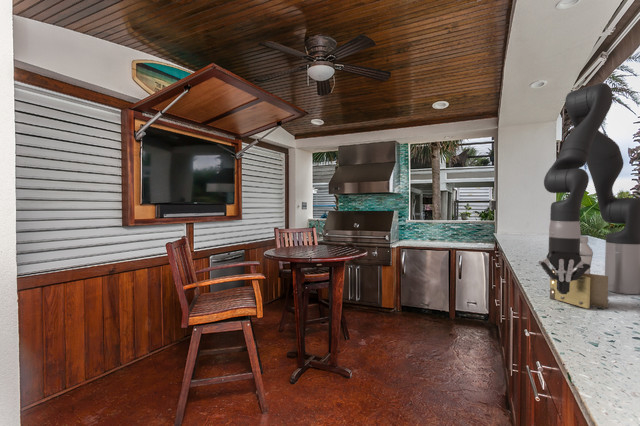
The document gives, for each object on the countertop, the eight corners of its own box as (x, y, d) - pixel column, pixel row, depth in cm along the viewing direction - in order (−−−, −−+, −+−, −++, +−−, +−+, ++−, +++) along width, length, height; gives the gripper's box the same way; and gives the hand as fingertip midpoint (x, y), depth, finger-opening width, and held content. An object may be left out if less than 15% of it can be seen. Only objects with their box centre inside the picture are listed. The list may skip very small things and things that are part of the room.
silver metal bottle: (586, 293, 113) (588, 235, 113) (595, 298, 107) (597, 237, 106) (564, 291, 115) (565, 235, 115) (572, 296, 109) (573, 236, 108)
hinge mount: (553, 294, 111) (553, 264, 111) (608, 303, 102) (609, 270, 101) (549, 298, 106) (549, 267, 106) (607, 308, 96) (608, 274, 96)
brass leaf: (546, 296, 107) (547, 269, 106) (553, 296, 107) (554, 269, 107) (586, 308, 95) (587, 277, 94) (594, 307, 95) (595, 277, 95)
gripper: (584, 235, 99) (583, 292, 99) (534, 234, 103) (533, 288, 103) (597, 238, 92) (595, 299, 92) (543, 236, 96) (541, 294, 96)
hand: (562, 293), depth 98 cm, fingers closed
